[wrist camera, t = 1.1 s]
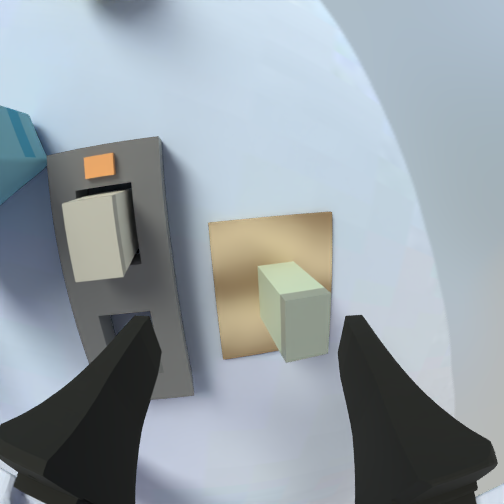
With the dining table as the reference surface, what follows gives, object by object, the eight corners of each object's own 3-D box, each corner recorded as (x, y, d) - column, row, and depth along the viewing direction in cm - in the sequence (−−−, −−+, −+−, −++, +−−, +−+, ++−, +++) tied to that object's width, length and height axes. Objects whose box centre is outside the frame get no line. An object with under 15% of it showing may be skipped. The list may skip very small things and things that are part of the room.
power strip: (192, 374, 27) (194, 399, 23) (109, 381, 25) (103, 405, 22) (161, 140, 21) (158, 135, 18) (61, 156, 20) (43, 155, 17)
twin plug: (138, 246, 23) (123, 276, 16) (102, 251, 22) (75, 282, 16) (131, 188, 22) (111, 195, 15) (94, 193, 21) (61, 203, 15)
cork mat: (327, 337, 29) (328, 339, 29) (222, 357, 27) (223, 359, 27) (329, 211, 26) (332, 212, 25) (208, 222, 24) (208, 223, 23)
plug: (294, 311, 27) (327, 353, 20) (260, 316, 26) (286, 362, 20) (293, 261, 26) (331, 293, 19) (257, 265, 25) (285, 301, 18)
